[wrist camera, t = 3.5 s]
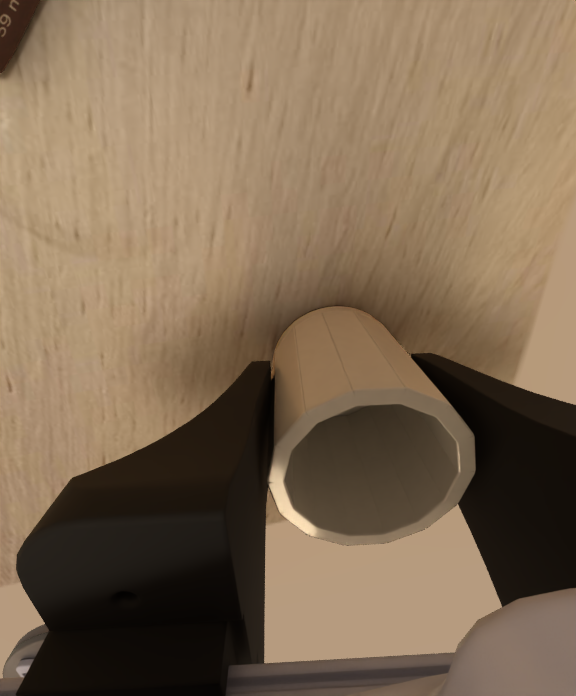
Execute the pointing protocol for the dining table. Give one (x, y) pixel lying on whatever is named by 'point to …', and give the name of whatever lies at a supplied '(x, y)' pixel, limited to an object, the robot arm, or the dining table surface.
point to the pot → (360, 433)
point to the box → (13, 26)
